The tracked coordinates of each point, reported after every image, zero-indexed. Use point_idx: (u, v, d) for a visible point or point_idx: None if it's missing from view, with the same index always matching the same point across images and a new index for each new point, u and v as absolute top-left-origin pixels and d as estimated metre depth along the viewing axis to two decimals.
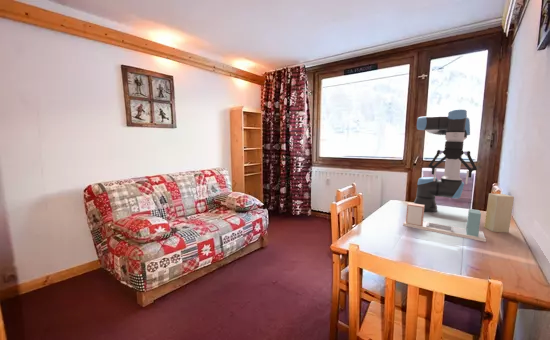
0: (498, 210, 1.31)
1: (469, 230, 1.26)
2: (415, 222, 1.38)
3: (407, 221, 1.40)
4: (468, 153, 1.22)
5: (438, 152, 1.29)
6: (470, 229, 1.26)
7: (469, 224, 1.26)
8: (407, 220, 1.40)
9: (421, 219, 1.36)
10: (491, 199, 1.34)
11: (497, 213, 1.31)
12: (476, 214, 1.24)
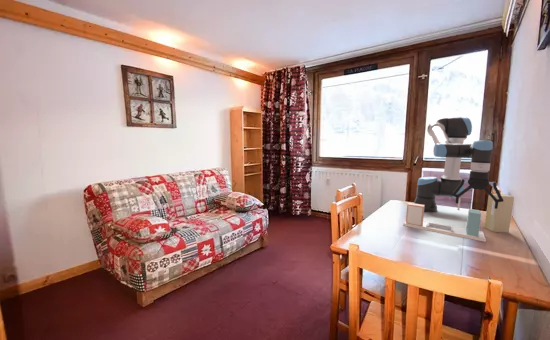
0: (498, 210, 1.31)
1: (469, 230, 1.26)
2: (415, 222, 1.38)
3: (407, 221, 1.40)
4: (494, 184, 1.21)
5: (463, 181, 1.28)
6: (470, 229, 1.26)
7: (469, 224, 1.26)
8: (407, 220, 1.40)
9: (421, 219, 1.36)
10: (491, 199, 1.34)
11: (497, 213, 1.31)
12: (476, 214, 1.24)
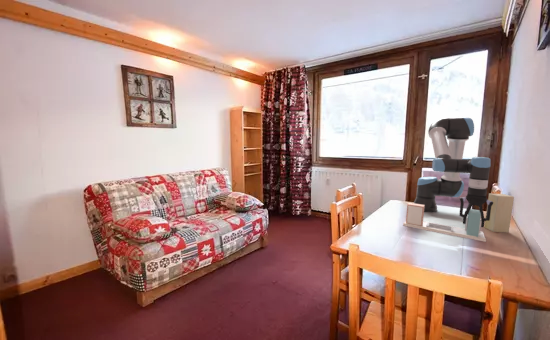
0: (498, 210, 1.31)
1: (469, 230, 1.26)
2: (415, 222, 1.38)
3: (407, 221, 1.40)
4: (490, 203, 1.23)
5: (461, 200, 1.29)
6: (470, 229, 1.26)
7: (469, 224, 1.26)
8: (407, 220, 1.40)
9: (421, 219, 1.36)
10: (491, 199, 1.34)
11: (497, 213, 1.31)
12: (476, 214, 1.24)
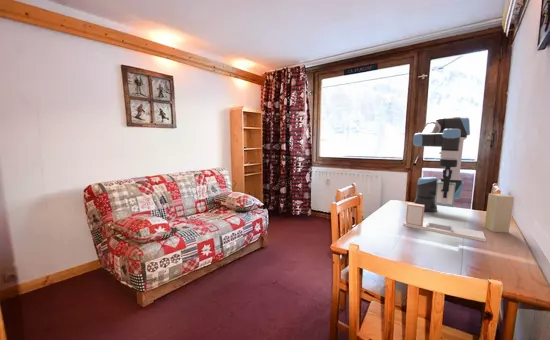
0: (498, 210, 1.31)
1: None
2: (415, 222, 1.38)
3: (407, 221, 1.40)
4: (444, 173, 1.25)
5: None
6: None
7: None
8: (407, 220, 1.40)
9: (421, 219, 1.36)
10: (491, 199, 1.34)
11: (497, 213, 1.31)
12: None
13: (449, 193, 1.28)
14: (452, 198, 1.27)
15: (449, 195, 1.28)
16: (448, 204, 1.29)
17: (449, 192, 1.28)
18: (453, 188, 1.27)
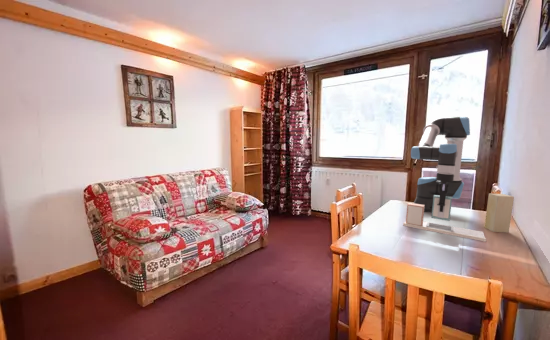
0: (498, 210, 1.31)
1: None
2: (415, 222, 1.38)
3: (407, 221, 1.40)
4: (440, 188, 1.27)
5: None
6: None
7: None
8: (407, 220, 1.40)
9: (421, 219, 1.36)
10: (491, 199, 1.34)
11: (497, 213, 1.31)
12: None
13: (445, 207, 1.29)
14: (448, 212, 1.28)
15: (445, 209, 1.29)
16: (444, 218, 1.30)
17: (445, 206, 1.29)
18: (449, 202, 1.28)
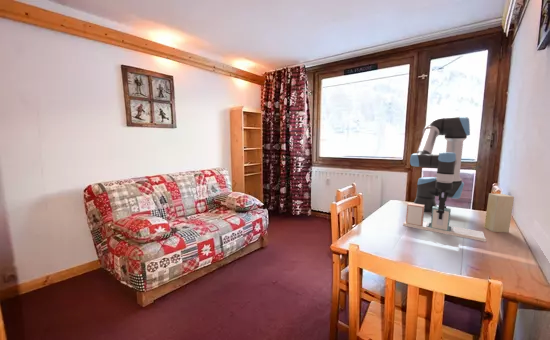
0: (498, 210, 1.31)
1: None
2: (415, 222, 1.38)
3: (407, 221, 1.40)
4: (439, 195, 1.27)
5: None
6: None
7: None
8: (407, 220, 1.40)
9: (421, 219, 1.36)
10: (491, 199, 1.34)
11: (497, 213, 1.31)
12: (432, 208, 1.34)
13: (444, 219, 1.30)
14: (447, 224, 1.29)
15: (444, 221, 1.30)
16: None
17: (444, 218, 1.30)
18: (448, 214, 1.29)
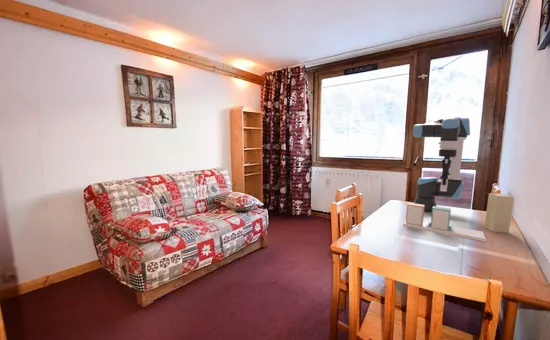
0: (498, 210, 1.31)
1: None
2: (415, 222, 1.38)
3: (407, 221, 1.40)
4: (443, 161, 1.26)
5: None
6: None
7: None
8: (407, 220, 1.40)
9: (421, 219, 1.36)
10: (491, 199, 1.34)
11: (497, 213, 1.31)
12: (432, 208, 1.34)
13: (444, 219, 1.30)
14: (447, 224, 1.29)
15: (444, 221, 1.30)
16: None
17: (444, 218, 1.30)
18: (448, 214, 1.29)
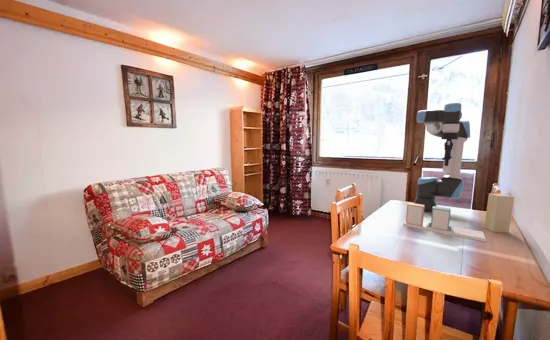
0: (498, 210, 1.31)
1: None
2: (415, 222, 1.38)
3: (407, 221, 1.40)
4: (445, 143, 1.32)
5: None
6: None
7: None
8: (407, 220, 1.40)
9: (421, 219, 1.36)
10: (491, 199, 1.34)
11: (497, 213, 1.31)
12: (432, 208, 1.34)
13: (444, 219, 1.30)
14: (447, 224, 1.29)
15: (444, 221, 1.30)
16: None
17: (444, 218, 1.30)
18: (448, 214, 1.29)
